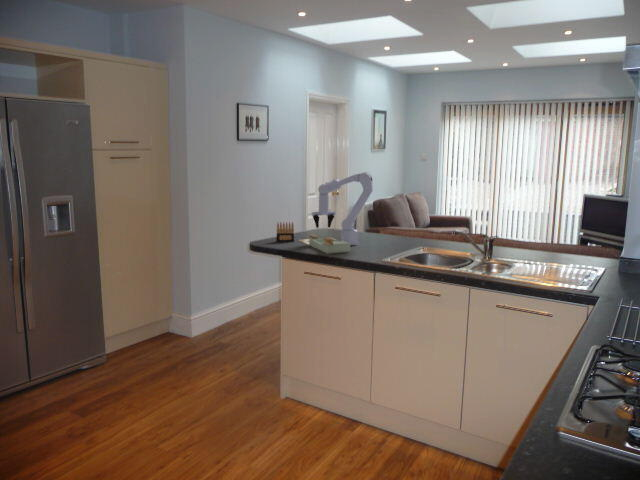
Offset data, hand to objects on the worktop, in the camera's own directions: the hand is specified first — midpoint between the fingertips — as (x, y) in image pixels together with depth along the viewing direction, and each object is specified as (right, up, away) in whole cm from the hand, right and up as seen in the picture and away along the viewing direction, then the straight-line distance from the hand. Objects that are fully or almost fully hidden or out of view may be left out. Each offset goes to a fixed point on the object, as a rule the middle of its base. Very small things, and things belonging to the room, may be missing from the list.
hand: (323, 227), depth 311 cm
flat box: (+3, -13, -16) cm, 21 cm away
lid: (-6, -9, +4) cm, 12 cm away
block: (+3, -10, -29) cm, 31 cm away
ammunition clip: (-23, -9, +4) cm, 25 cm away
